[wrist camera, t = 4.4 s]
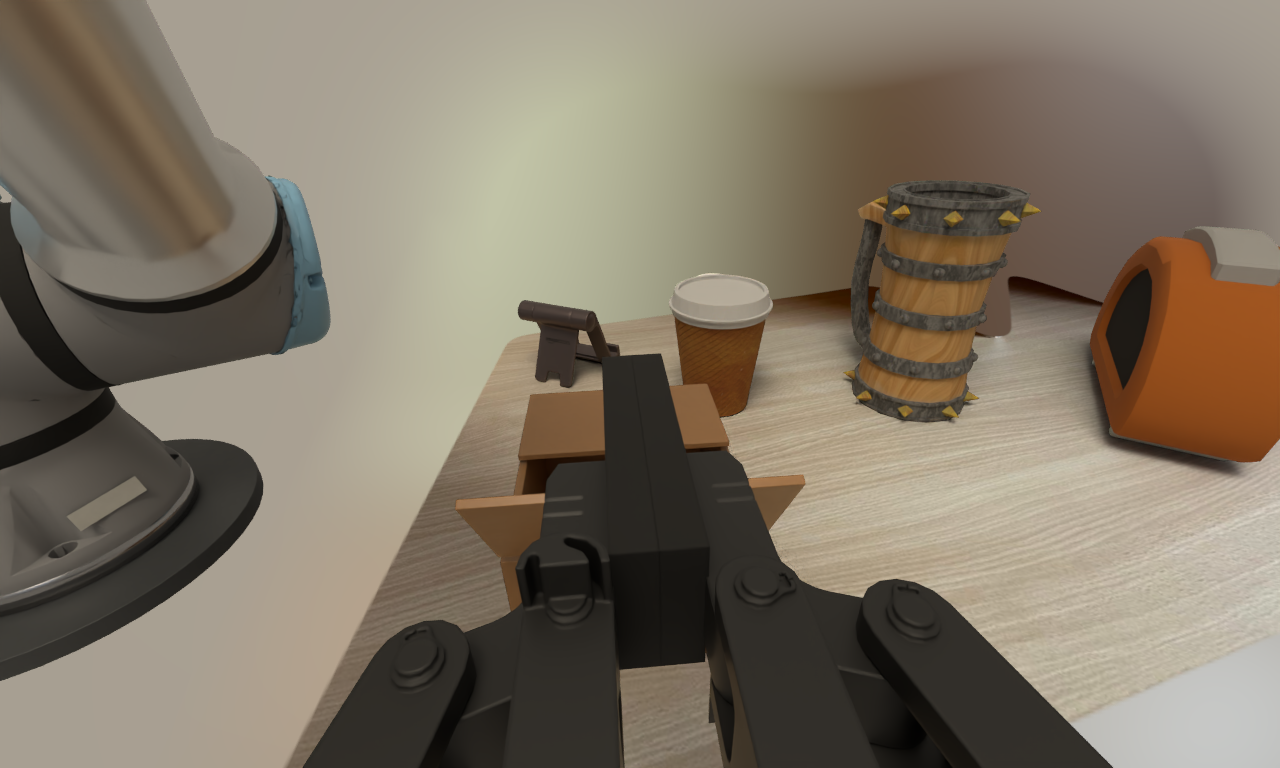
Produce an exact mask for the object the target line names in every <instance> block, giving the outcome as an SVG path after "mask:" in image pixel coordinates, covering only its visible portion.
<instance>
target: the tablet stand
mask: <svg viewBox="0 0 1280 768" xmlns="http://www.w3.org/2000/svg"><path fill="white" fill-rule="evenodd" d="M518 315H519V317H520V318H521V319H522V320H527V321H533V322H537V324H538V326H539V328H540V330H541V333H540V342H539V350H538V358H537V367H536V374H535V378H536V379H537V380H538V381H543V382H546V379H547V375H548V372H549V371H551V372H556V373H559V374H560V386H564V387H570V386H571V385H572V379H573V372H574V365H575V357H577V358H582V359H587V360H592V361H597V362H601V363H602V357H612V356H620V351H619V345H615V344H609V343H606V341H605V338H604V335H603V333H602V330H601V327H600V325H599V322H598V320H597V317H596V314H595V313H594V312H593V311H588V310H582V309H575V308H569V307H563V306H557V305H551V304H545V303H538V302H533V301H526V300H524V301H522V302H521V303H520V305H519V307H518ZM579 330H582V331H586V332H587V334H588V336H589V339H590V341H591V344H592V346H590V345H585V344H580V343H579V340H578V334H579Z"/></svg>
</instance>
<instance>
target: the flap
mask: <svg viewBox="0 0 1280 768" xmlns="http://www.w3.org/2000/svg"><path fill="white" fill-rule="evenodd" d="M748 481H749V486H751V488H752V491H753V493H754V496H755V500H756V501H757V504H758V506H759V509H760V511H761V514H762V516H763V519H764V521H765V524H766V526H767V529H768V531H769V530H770V528H771V527H772V526H773V525H774V523H775V522H776V521H777V519H778V518H779V517H780V516H781V514H782V513H783V512H784V511H785V509H786V508H787V507H788V506H789V504H790V503H791V502H792V501H793V499H794V498H795V497H796V496H797V494H798V493H799V492H800V490H801V489H802V488H803V487H804V485H805V479H804V476H803V475H791V476H777V477H763V478H749V479H748ZM544 503H545V493H541V494H527V495H513V496H500V497H486V498H472V499H458V500H456V506H455V510H456V511H457V512H458V513H459V514H460V515H461V516H462V518H463V519H464V520H465V521H466V522H467V523H468V524H469V525H470V526H471V527H472V529H473V530H474V531H475V532H476V533H477V534H478V535H479V536H480V537H481V538H482V540H483V541H484V542H485V543H486V544H487V545H488V546H489V547H490V548H491V549H492V550H493V552H494V553H495V554H496V555H497V556H498V557H510V556H520V555H521V554H522V553H523V552H524V551H525V550H526V549H527V548H528V547H529V545H530V544H531V543H532V542H534V541H536V540H538V539H540V532H541V524H542V518H543V507H544Z"/></svg>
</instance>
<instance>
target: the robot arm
mask: <svg viewBox="0 0 1280 768" xmlns="http://www.w3.org/2000/svg"><path fill="white" fill-rule="evenodd" d="M0 185H1V186H2V187H3V188H4V189H5V190H6V191H8V192H9V193H10V194H11V195H12V201H11V202H10V203H2V202H0V617H2V616H6V615H10V614H14V613H17V612H21V611H24V610H27V609H30V608H33V607H36V606H39V605H42V604H45V603H47V602H50V601H53V600H55V599H58V598H60V597H63V596H65V595H68V594H70V593H72V592H74V591H77V590H79V589H81V588H83V587H85V586H88V585H90V584H92V583H94V582H96V581H98V580H100V579H102V578H104V577H105V576H107V575H109V574H111V573H113V572H115V571H116V570H118V569H120V568H121V567H123V566H125V565H127V564H128V563H130V562H131V561H133V560H135V559H136V558H138V557H139V556H141V555H142V554H144V553H145V552H146V551H148V550H149V549H151V548H152V547H153V546H155V545H156V544H157V543H159V542H160V541H161V540H162V539H164V538H165V537H166V536H167V535H168V534H169V533H170V532H172V531H173V530H174V529H175V528H176V527H177V526H178V525H179V524H180V523H181V522H182V521H183V519H184V518H185V517H186V516H187V515H188V513H189V512H190V511H191V509H192V508H193V506H194V504H195V503H196V500H197V498H198V495H199V489H200V486H199V481H198V479H197V477H196V476H195V474H194V472H193V470H192V468H191V467H190V465H189V463H188V462H187V461H186V460H185V459H184V458H183V457H182V456H181V455H180V454H179V453H178V452H177V451H175V450H174V449H172V448H170V447H168V446H166V445H165V444H164V443H163V442H162V441H161V440H160V439H159V438H158V437H157V436H155V435H154V434H153V433H152V432H151V431H150V430H148V429H147V428H146V427H145V426H144V425H142V424H141V423H140V422H138V421H137V420H136V419H135V418H133V417H132V416H131V415H130V414H128V413H127V412H126V411H125V410H123V409H122V408H121V406H120V405H119V404H118V402H117V401H116V399H115V397H114V396H113V394H112V392H111V391H110V389H109V387H111V386H116V385H121V384H124V383H129V382H134V381H139V380H143V379H149V378H154V377H158V376H163V375H167V374H173V373H178V372H182V371H187V370H192V369H197V368H202V367H207V366H211V365H216V364H221V363H226V362H231V361H236V360H241V359H245V358H250V357H255V356H260V355H265V354H272V355H278V354H283V353H284V352H286V351H287V350H288V349H292V348H296V347H300V346H303V345H307V344H312V343H315V342H317V341H319V340H321V339H322V338H323V337H324V336H325V335H326V334H327V332H328V330H329V327H330V310H329V302H328V296H327V290H326V286H325V282H324V278H323V277H322V269H321V261H320V256H319V252H318V248H317V244H316V240H315V236H314V232H313V228H312V225H311V221H310V218H309V214H308V211H307V208H306V205H305V202H304V199H303V197H302V194H301V192H300V190H299V189H298V187H297V186H296V185H295V184H294V183H293V182H291V181H289V180H286V179H276V178H274V177H271V176H268V177H265V176H264V175H263V174H262V172H261V171H260V169H259V168H258V166H256V165H255V163H254V162H253V161H251V159H250V158H249V157H247V156H246V155H245V154H243V153H242V152H240V151H239V150H238V149H236V148H234V147H233V146H231V145H230V144H228V143H226V142H224V141H222V140H220V139H218V138H216V137H214V135H213V133H212V131H211V129H210V127H209V125H208V123H207V121H206V119H205V117H204V115H203V113H202V111H201V109H200V107H199V105H198V103H197V101H196V99H195V97H194V95H193V93H192V91H191V89H190V87H189V85H188V83H187V81H186V79H185V77H184V75H183V73H182V71H181V69H180V67H179V66H178V63H177V61H176V59H175V57H174V56H173V54H172V51H171V49H170V47H169V45H168V43H167V41H166V39H165V38H164V35H163V34H162V32H161V29H160V28H159V26H158V23H157V22H156V19H155V17H154V15H153V13H152V12H151V9H150V7H149V6H148V4H147V2H146V0H0ZM0 200H1V196H0ZM602 373H603V405H604V437H605V461H591V462H577V463H562V464H558V465H557V467H556V468H555V470H554V471H553V472H552V474H551V475H550V477H549V478H548V479H547V482H546V491H545V503H544V507H543V518H542V524H541V532H540V539H538V540H536V541H534V542H532V543H531V544H530V545H529V547H528V548H527V549H526V550H525V551H524V552H523V553H522V554H521V555H520V558H519V560H518V563H517V565H516V567H515V571H516V575H517V580H518V585H519V590H520V595H521V600H522V603H521V604H520V605H519V606H518V607H517V608H516V609H514V610H513V611H512V612H510V613H509V614H507V615H506V616H504V617H502V618H500V619H498V620H496V621H494V622H492V623H489V624H486V625H484V626H481V627H478V628H476V629H473V630H470V631H468V632H465V633H463V632H462V630H461V629H460V628H459V627H458V626H457V625H455V624H452V623H449V622H446V621H443V620H436V621H423V622H420V623H418V624H415V625H412V626H409V627H407V628H405V629H403V630H402V631H400V632H399V633H397V634H396V635H394V636H393V637H392V638H390V639H389V640H387V642H386V643H385V644H384V645H383V646H382V647H381V649H380V650H379V651H378V652H377V653H376V654H375V655H374V657H373V658H372V660H371V661H370V663H369V665H368V666H367V668H366V669H365V671H364V672H363V674H362V675H361V677H360V679H359V680H358V682H357V683H356V685H355V686H354V688H353V690H352V691H351V693H350V694H349V696H348V697H347V699H346V701H345V702H344V704H343V705H342V707H341V708H340V710H339V711H338V713H337V715H336V716H335V718H334V719H333V721H332V722H331V724H330V726H329V727H328V729H327V730H326V732H325V733H324V735H323V736H322V738H321V740H320V741H319V743H318V744H317V746H316V747H315V749H314V751H313V752H312V754H311V755H310V757H309V758H308V760H307V761H306V763H305V765H304V766H303V768H625V763H624V742H623V721H622V702H621V690H620V671H619V670H621V669H632V668H643V667H654V666H665V665H676V664H687V663H698V662H705V648H706V652H707V657H708V662H709V667H710V672H711V679H710V697H709V723H714V722H715V724H716V729H717V734H718V740H719V745H720V750H721V756H722V761H723V766H724V768H1113V767H1112V766H1111V765H1110V764H1109V763H1108V762H1107V761H1106V760H1105V759H1104V758H1103V757H1102V756H1101V755H1100V754H1099V753H1098V752H1097V751H1096V750H1095V749H1094V748H1093V747H1092V746H1091V745H1090V744H1089V743H1088V742H1087V741H1086V740H1085V739H1084V738H1083V737H1082V736H1081V735H1080V734H1079V733H1078V732H1077V731H1076V730H1075V729H1074V728H1073V727H1072V726H1071V725H1070V724H1069V723H1068V722H1067V721H1066V720H1065V719H1064V718H1063V717H1062V716H1061V715H1060V714H1059V713H1058V712H1057V711H1056V710H1055V709H1054V708H1053V707H1052V706H1051V705H1050V704H1049V703H1048V702H1047V701H1046V700H1045V699H1044V698H1043V697H1042V696H1041V695H1040V693H1039V692H1038V691H1037V690H1036V689H1035V688H1034V687H1033V686H1032V685H1031V684H1030V683H1029V682H1028V681H1027V680H1026V679H1025V678H1024V677H1023V676H1022V675H1021V674H1020V673H1019V672H1018V671H1017V670H1016V669H1015V668H1014V667H1013V666H1012V665H1011V664H1010V663H1009V662H1008V661H1007V660H1006V659H1005V658H1004V657H1003V656H1002V655H1001V654H1000V653H999V652H998V651H997V650H996V649H995V648H994V647H993V646H992V645H991V644H990V643H989V642H988V641H987V640H986V639H985V638H984V637H983V636H982V635H981V634H980V633H979V632H978V631H977V630H976V629H975V628H974V627H973V626H972V625H971V624H970V623H969V622H968V621H967V620H966V619H965V618H964V617H963V616H962V615H961V614H960V613H959V612H958V611H957V610H956V609H955V608H954V607H953V606H952V605H951V604H950V603H949V602H947V601H946V600H945V599H943V598H942V597H941V596H940V595H938V594H937V593H936V592H934V591H933V590H931V589H928V588H926V587H924V586H922V585H920V584H917V583H915V582H910V581H904V580H899V579H892V580H884V581H879V582H877V583H876V584H874V585H872V586H871V587H869V588H868V589H867V591H866V593H865V595H864V597H863V598H860V597H855V596H850V595H845V594H840V593H834V592H829V591H826V590H822V589H819V588H815V587H813V586H811V585H809V584H807V583H805V582H803V581H801V580H800V579H799V578H798V576H797V575H796V573H795V572H794V571H793V570H792V569H790V568H789V567H788V566H786V565H785V564H784V563H782V562H781V560H780V558H779V556H778V554H777V552H776V549H775V547H774V544H773V541H772V539H771V536H770V534H769V531H768V529H767V526H766V524H765V521H764V519H763V516H762V514H761V511H760V509H759V506H758V504H757V501H756V500H755V496H754V493H753V491H752V488H751V486H749V481H748V478H747V476H746V473H745V471H744V468H743V466H742V464H741V463H740V462H739V461H738V460H737V459H735V458H734V457H733V456H732V455H731V454H730V453H729V452H728V451H727V450H723V451H709V452H695V453H686V450H685V446H684V442H683V438H682V434H681V430H680V426H679V422H678V418H677V415H676V411H675V407H674V403H673V399H672V395H671V391H670V387H669V383H668V379H667V375H666V371H665V367H664V363H663V360H662V356H661V354H644V355H628V356H612V357H602Z"/></svg>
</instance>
